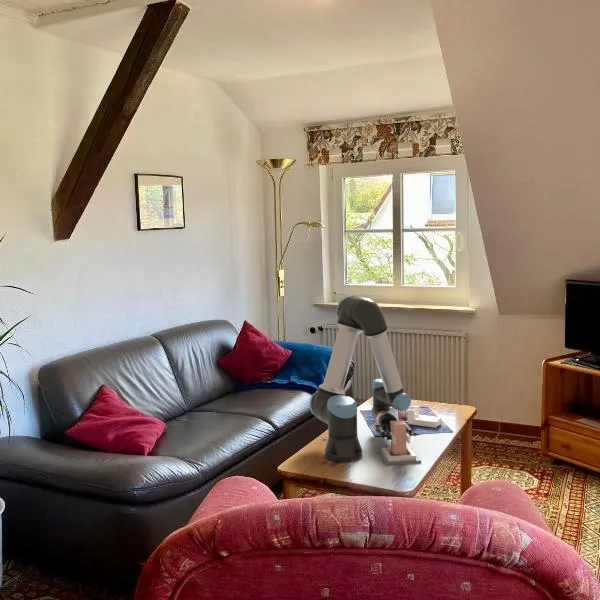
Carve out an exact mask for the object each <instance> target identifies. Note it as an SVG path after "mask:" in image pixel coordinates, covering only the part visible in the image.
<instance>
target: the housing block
mask: <svg viewBox="0 0 600 600" xmlns="http://www.w3.org/2000/svg"><path fill="white" fill-rule="evenodd" d="M406 423H407V422H405V421H404V420H403V419H401V420H398V419H397V421H390V426H391V432H392V433H393V435H394V436H395V437H396V444H393V442H392V441H391V440H390V447H391V451H392V452H393V454H406V453H407V449H406V446H407V441H406Z"/></svg>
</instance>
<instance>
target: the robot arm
mask: <svg viewBox="0 0 600 600" xmlns="http://www.w3.org/2000/svg"><path fill="white" fill-rule="evenodd" d="M336 305H337V306H336V309H335V310H336V311H335V312H336V315H337V317H338V318H337V322H336V325H337V327H338V331H337V335H336V339H335V342H334V344H333V345H334V346H333V349H332V351H331V356H330V360H329V362H328V366H327V369H326V372H325V375H324V380H323V383H321V384H319V385H318V388H317V390H316V391H315V392H314V393H313V394H311V396H310V399H309V403H308V404H309V409H310V412H311V414H312V415H314V417H315V418H316V419H318V420H320V421H321V422H324V423H325V424H326V425H327V426H328V427H327V429H328V438H327V440H326V445H325V447H324V457H325V458H326V459H327V460H329V461H332V462H336V461H338V462H337V463H349V462H355V461H357V460H359V459H361V458H362V457H363V448H362V446H361V443H360V440H359V437H358V407H357V402H356V400H355V399H354V398H352V397H351V396H348V395H347V396H346V392H345V390H344V386H345V383H346V380H347V376H348V373H349V370H350V366H351V362H352V360H353V355H354V352H355V348H356V345H357V341H358V339H359V335H360V334H362V333H363V334H364V336H365V337H367V338H368V340H369V343H370V344H369V345H370V346H371V350H372V353H373V356H374V360H375V363H376V366H377V368H378V373H379V377H380V378H376V379H373V381H372V407H371V410H370V411H371V412H370V413H371V416H372V418H373V420H374V421H375V422H376V423H377V424H375V429H374V430H375V432H376V433H378V434H379V436H380V438H382V439H385V438H386V440H387V441H390V442H391V441H392V442H393V444H396V437H395V436H394V435H393V433H392V432H391V426H390V421H398V419H397V418H396V416H395V415H394V414H393V413H392V412H391V408H392V409H394V410H397V411H400V412H403V411H406V410H409V407H410V406H411V403H412V399H411V396H409V394H408V393H407V392H405V390H404V387H403V384H402V380H401V376H400V373H399V370H398V366H397V363H396V360H395V357H394V354H393V350H392V347H391V344H390V340H389V337H388V334H387V332H388V330H389V328H388V324H387V321H386V318H385V317H384V314H383V312H382V309H381V308H380V306H379V305H378V304H377V302H375V301H374V300H373V299H370V298H367V297H361V296H359V295H346V296H345V297H342V298H341V299H340V300H339V302H338V303H337V304H336ZM405 423H406V443H407V444H411V437H412V435H413V429H412V428H411V427H410V426H409V424H408V422H405Z"/></svg>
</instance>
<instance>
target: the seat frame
mask: <svg viewBox="0 0 600 600" xmlns="http://www.w3.org/2000/svg"><path fill="white" fill-rule="evenodd" d="M406 449H407V453H406V454H393V452H392V451H391V446H389V447H388V446H387V447H381V449H377V451H376V453H377V455H378V456H379V458H380V459H381V461H382V462H383V464H384V465H385V466H388V465H389V466H399V465H398V464H401V465H410V464H409V463H414V464H422V459H420V457H419V456H418V454H416V452H415V451H414V450H413V449H412V447H410V446H409V445H406Z"/></svg>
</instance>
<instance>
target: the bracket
mask: <svg viewBox="0 0 600 600" xmlns="http://www.w3.org/2000/svg"><path fill="white" fill-rule="evenodd" d="M407 417H408V418H407V420H408V421H407V425H413V426H421V427H429V428H435V429H437V428H438V427H437V426H439V425H440V424H441V425H442V418H441V416H440V417H439V416H431V415H425V414H424V415H423V414H420V407H419V405H412V409H411V408H410V409H409V408H408V409H407ZM441 425H440V426H441ZM440 426H439V427H440Z"/></svg>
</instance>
